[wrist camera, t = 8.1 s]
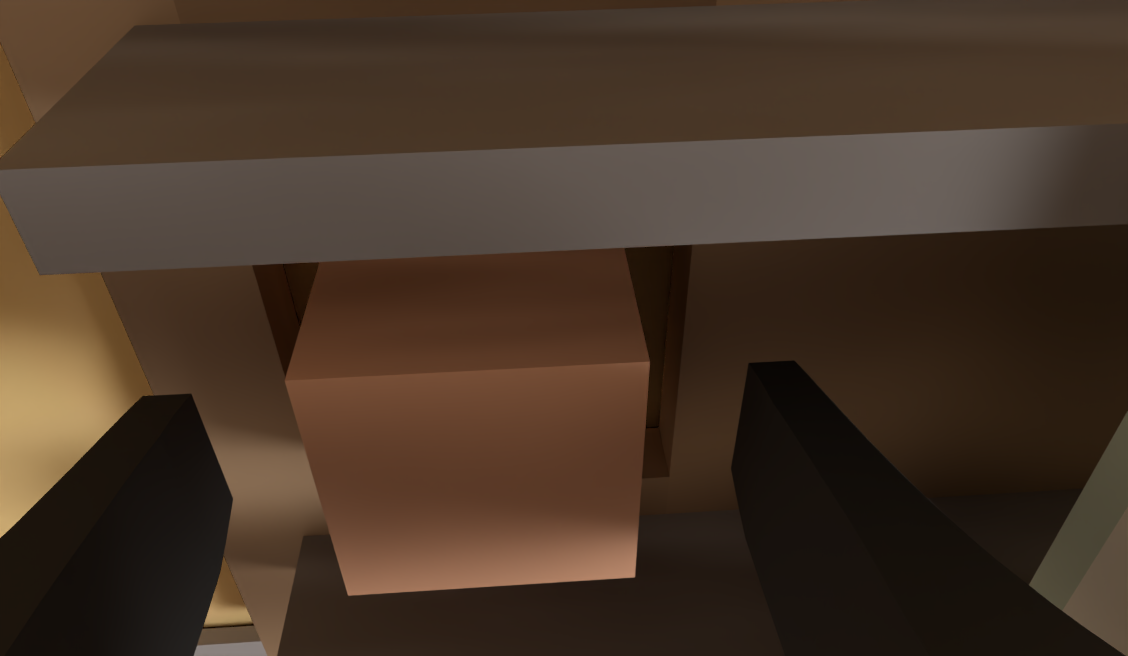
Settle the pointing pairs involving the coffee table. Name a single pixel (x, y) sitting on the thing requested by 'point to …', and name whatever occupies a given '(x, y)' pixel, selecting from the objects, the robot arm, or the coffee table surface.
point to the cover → (1094, 551)
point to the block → (475, 417)
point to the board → (610, 220)
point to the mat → (230, 642)
